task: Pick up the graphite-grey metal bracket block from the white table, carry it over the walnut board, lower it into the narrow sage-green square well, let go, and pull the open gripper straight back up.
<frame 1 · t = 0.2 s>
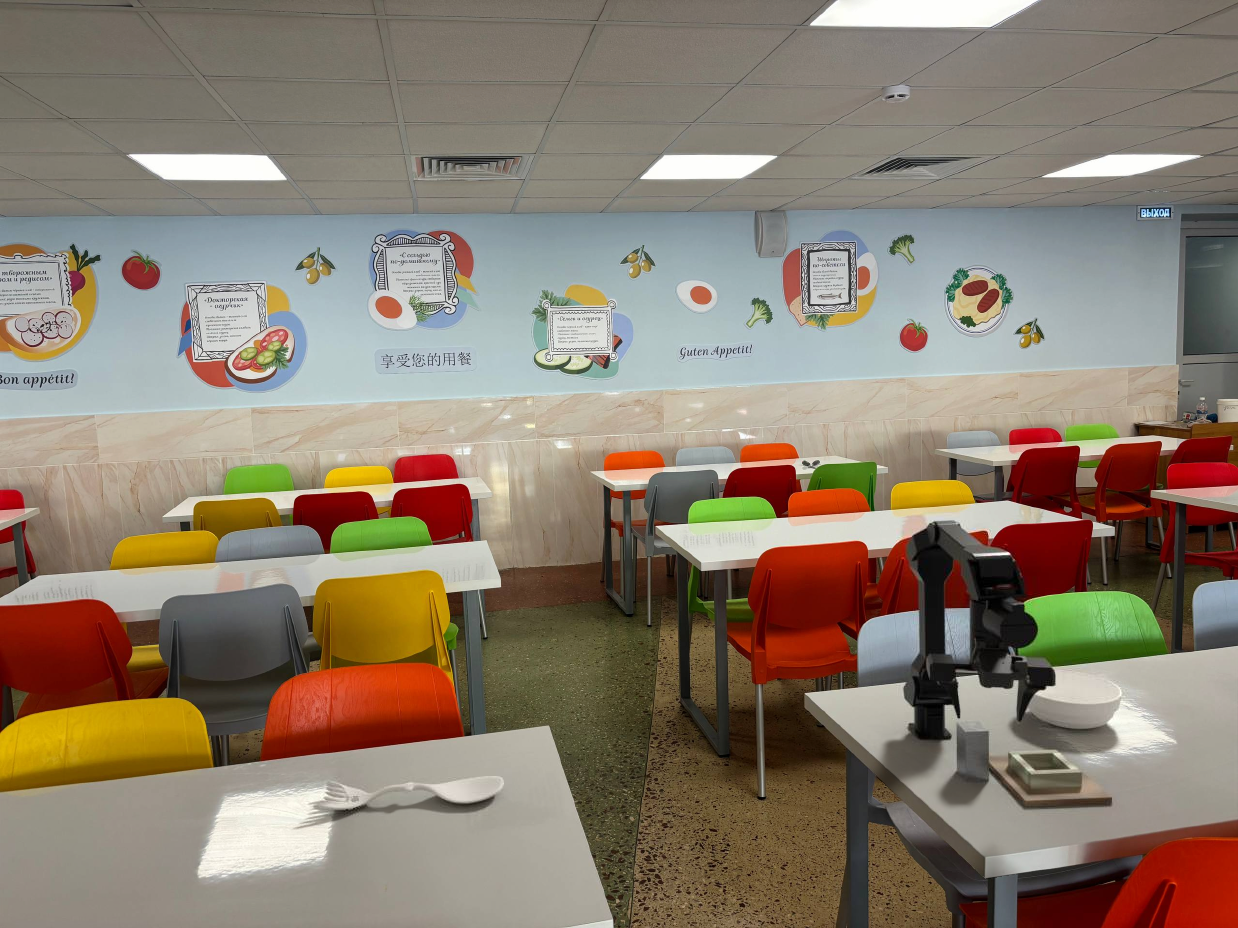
hand: (988, 719, 135), 14 cm above the table, tool pointing down, fingers open, 9 cm apart
bowl: (1068, 721, 165), on the table
white spork: (413, 803, 145), on the table
bracket block: (972, 775, 145), on the table
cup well: (1043, 780, 142), on the table
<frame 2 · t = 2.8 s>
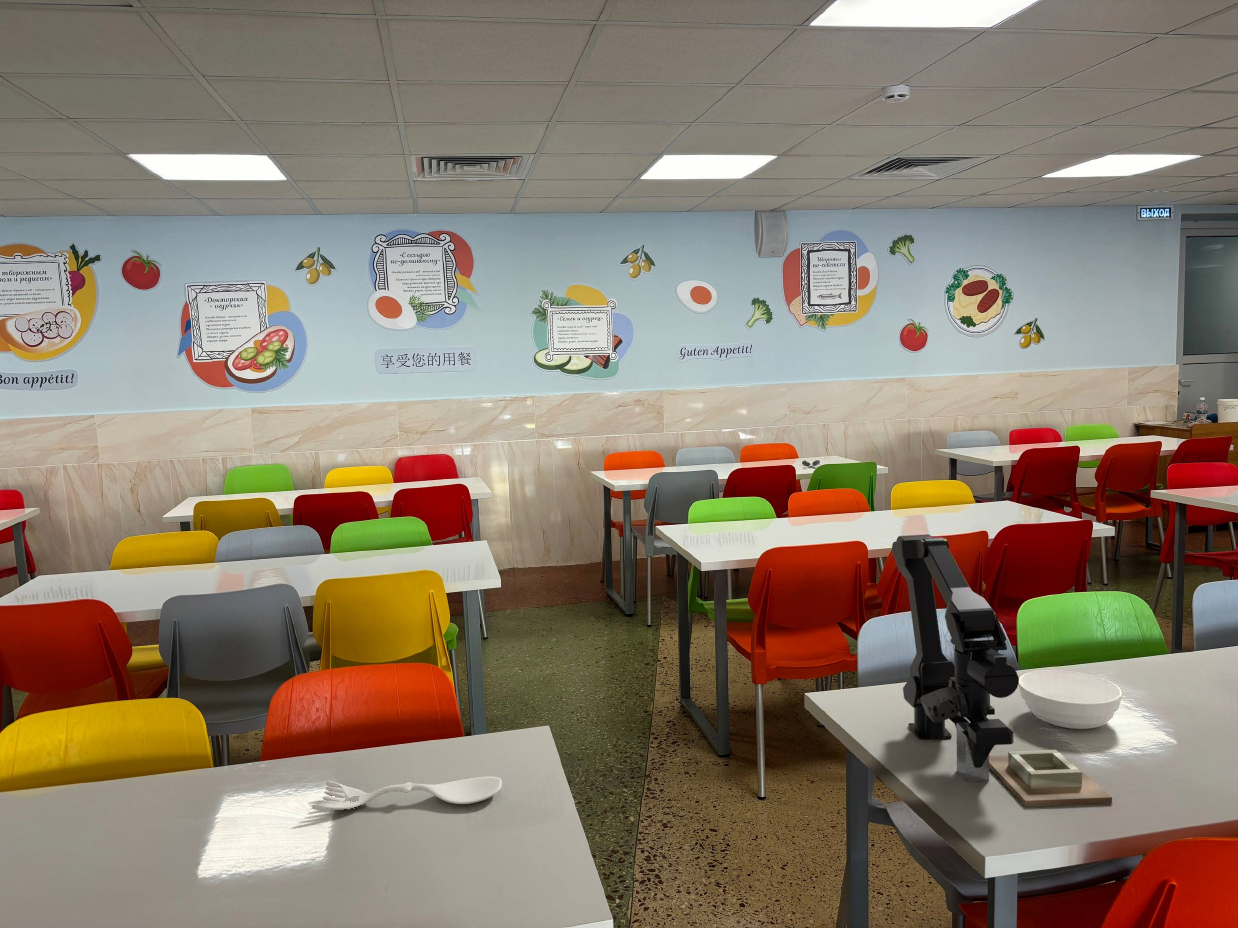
hand: (972, 761, 144), 3 cm above the table, tool pointing down, fingers closed on bracket block, 4 cm apart
bracket block: (972, 775, 145), on the table, touching gripper
everything else where it was.
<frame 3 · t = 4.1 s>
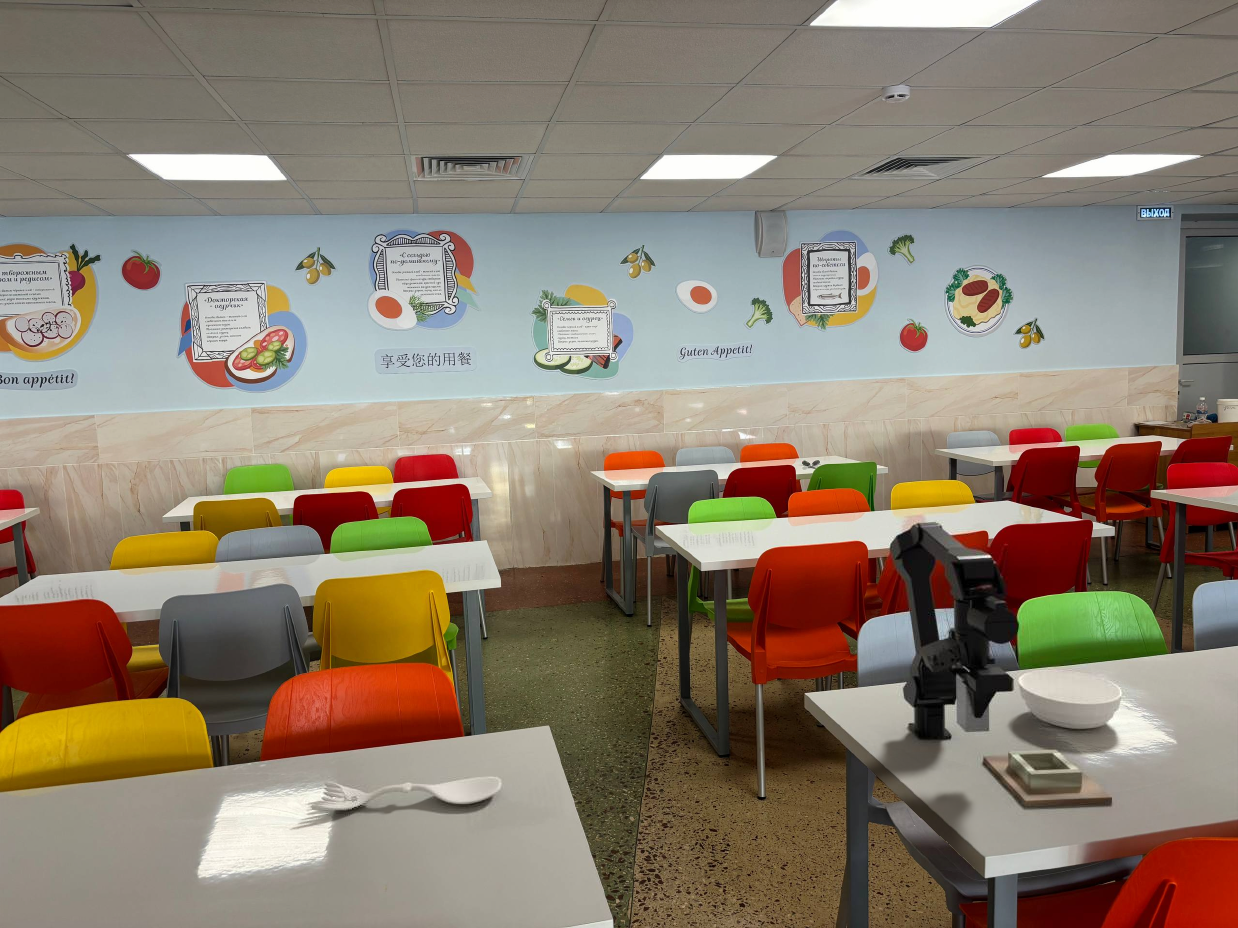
hand: (972, 712, 143), 12 cm above the table, tool pointing down, fingers closed on bracket block, 4 cm apart
bracket block: (972, 726, 144), point 9 cm above the table, touching gripper
everything else where it was.
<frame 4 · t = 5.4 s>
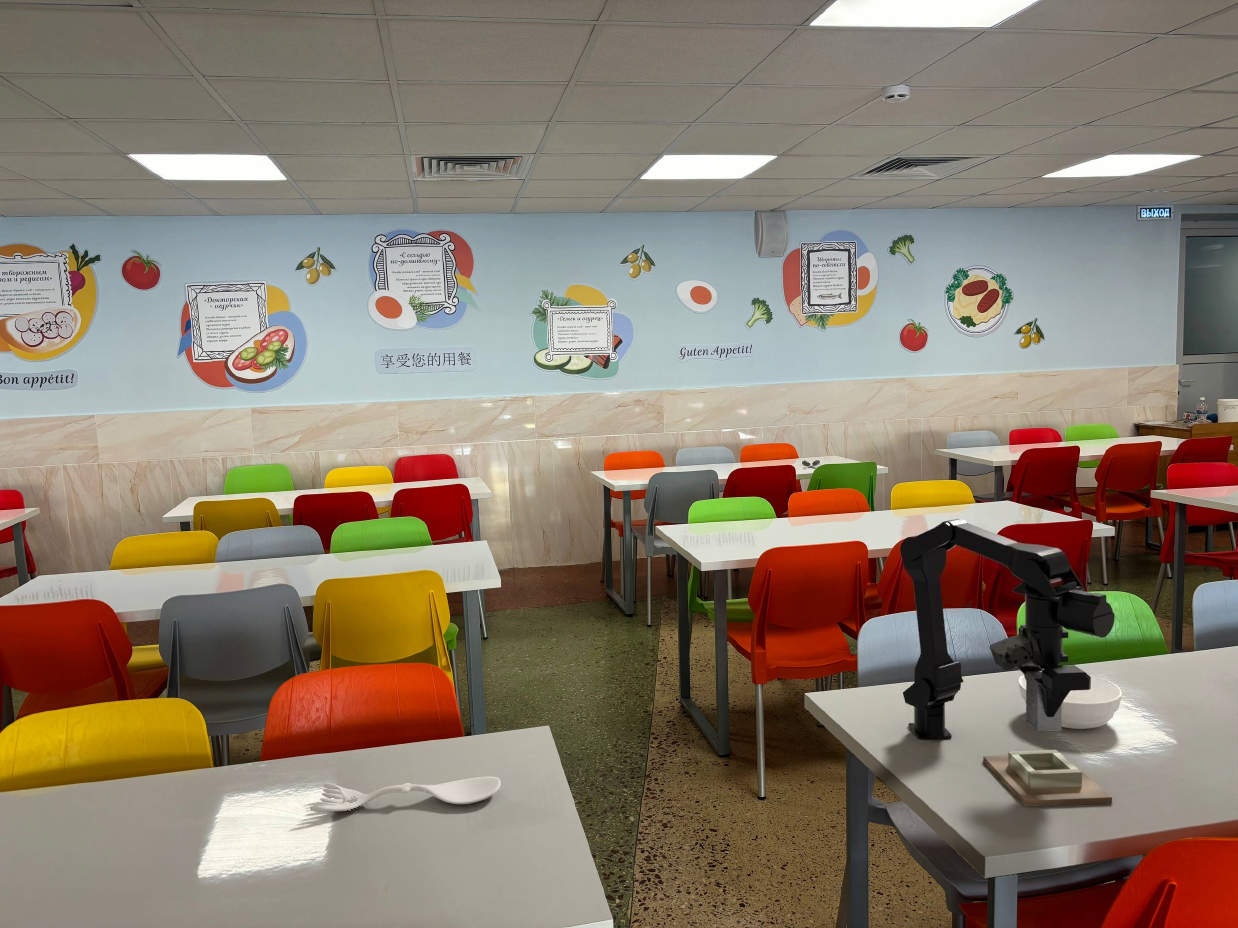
hand: (1043, 711, 140), 12 cm above the table, tool pointing down, fingers closed on bracket block, 4 cm apart
bracket block: (1043, 725, 141), point 10 cm above the table, touching gripper
everything else where it was.
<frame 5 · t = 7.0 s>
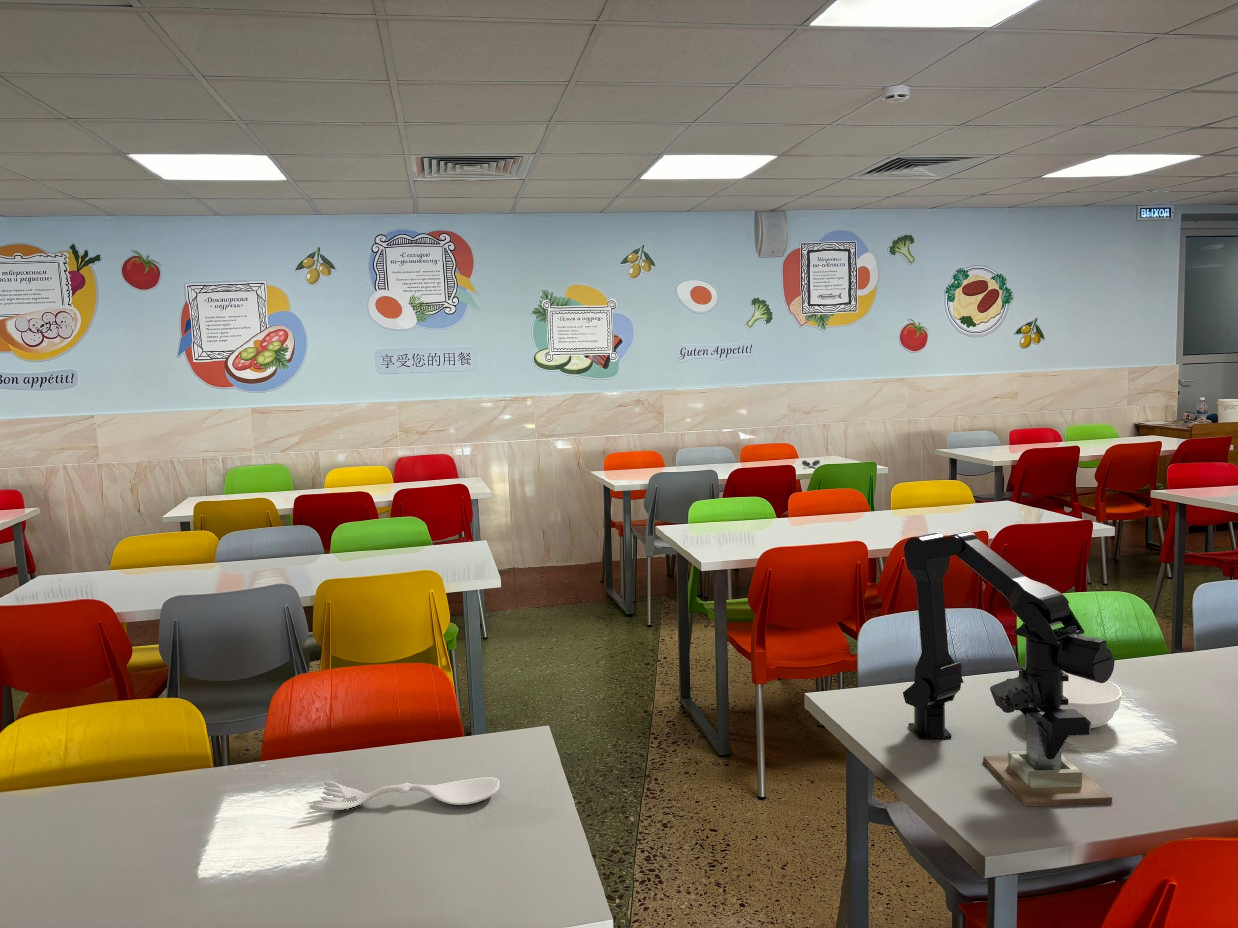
hand: (1043, 753, 141), 5 cm above the table, tool pointing down, fingers closed on bracket block, 4 cm apart
bracket block: (1043, 767, 141), point 2 cm above the table, touching gripper
everything else where it was.
when the fingers open (4 cm above the table, at t = 8.2 s): bracket block stays where it is, resting on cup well.
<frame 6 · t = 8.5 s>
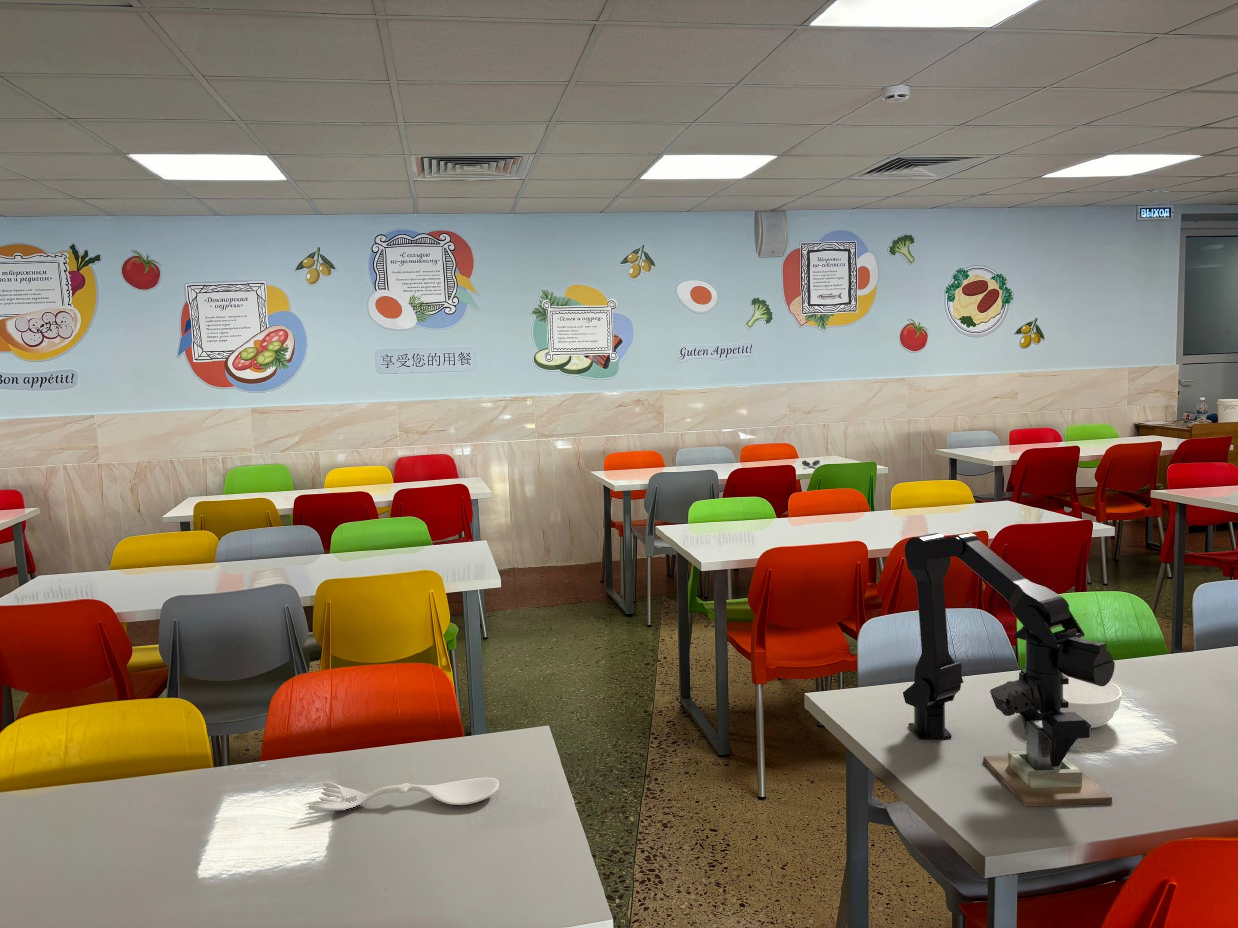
hand: (1043, 755, 141), 4 cm above the table, tool pointing down, fingers open, 7 cm apart
bracket block: (1043, 775, 141), point 1 cm above the table, touching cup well
everything else where it was.
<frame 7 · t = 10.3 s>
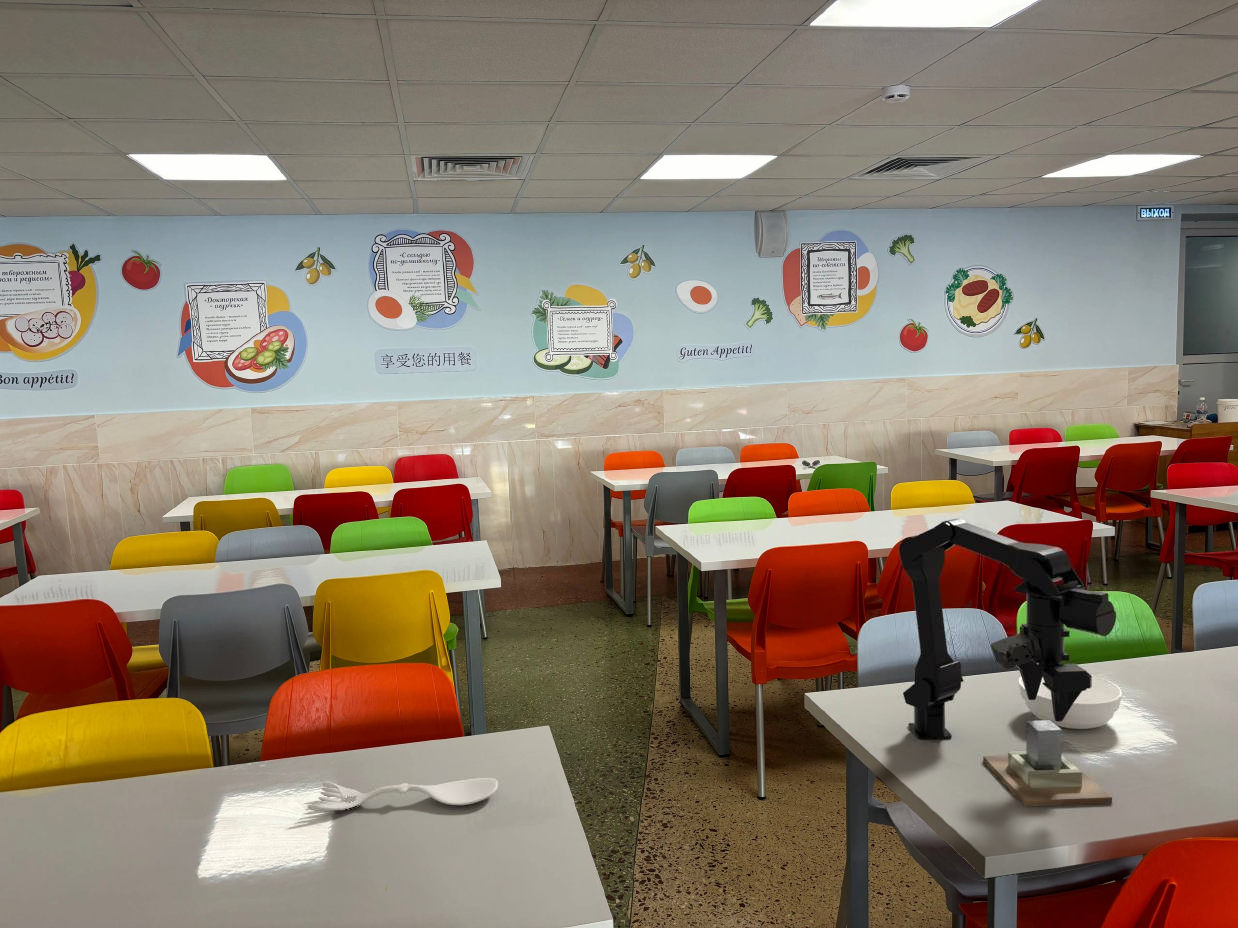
hand: (1044, 709, 141), 12 cm above the table, tool pointing down, fingers open, 9 cm apart
nothing on the table moved.
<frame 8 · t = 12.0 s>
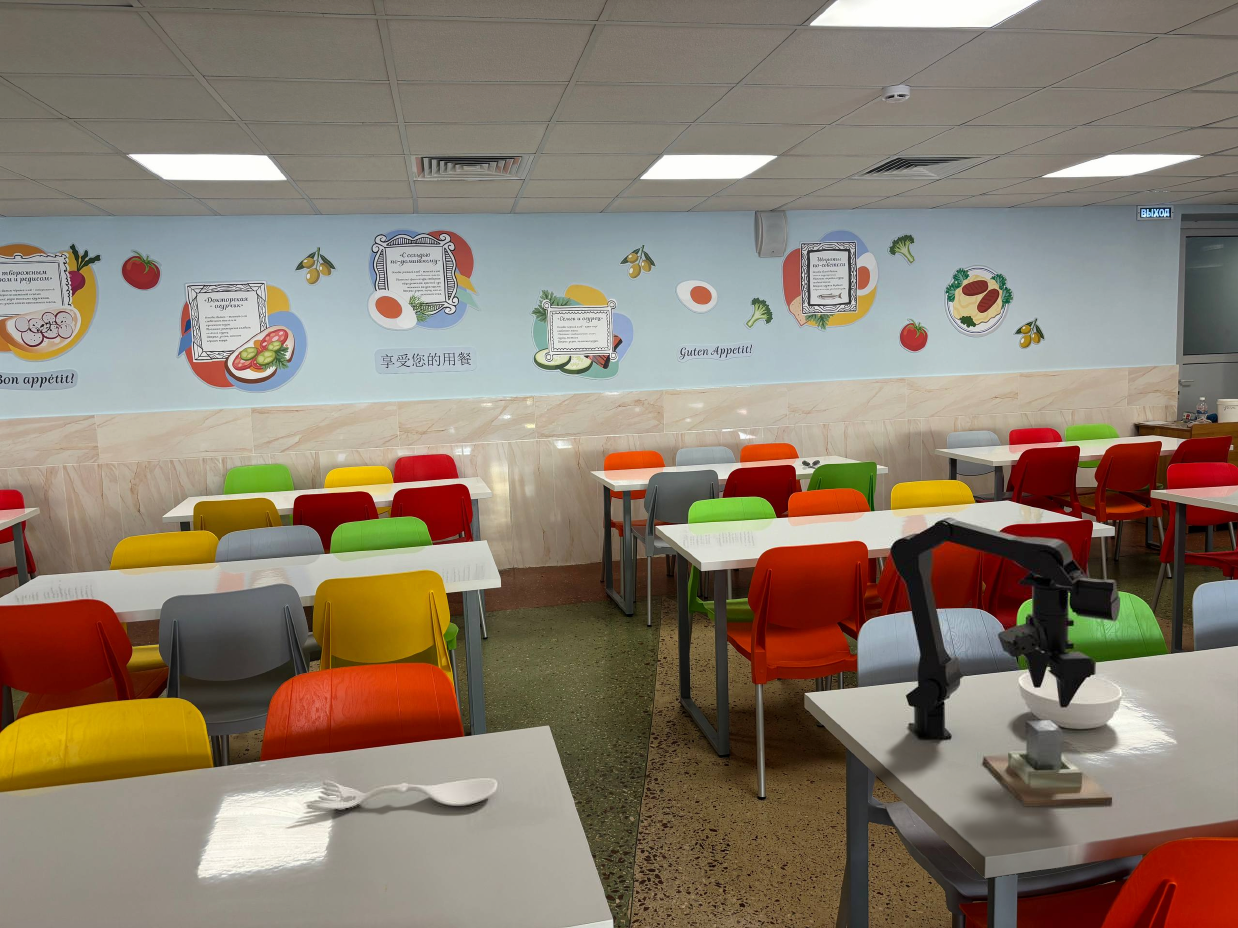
hand: (1049, 696, 146), 13 cm above the table, tool pointing down, fingers open, 9 cm apart
at the end: bracket block 0.0 cm off-centre on the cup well, point 1.0 cm above the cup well's base; bracket block tilted 0°; the gripper is holding nothing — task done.
